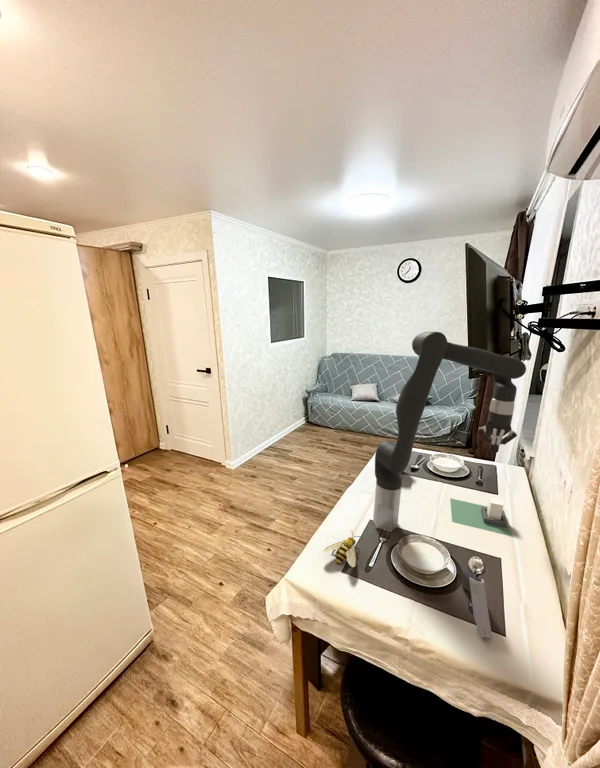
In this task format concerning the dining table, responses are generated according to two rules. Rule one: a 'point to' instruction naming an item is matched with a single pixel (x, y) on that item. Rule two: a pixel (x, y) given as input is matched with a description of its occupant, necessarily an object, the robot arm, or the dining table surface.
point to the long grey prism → (477, 602)
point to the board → (478, 517)
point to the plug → (494, 508)
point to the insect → (344, 551)
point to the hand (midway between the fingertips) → (493, 452)
